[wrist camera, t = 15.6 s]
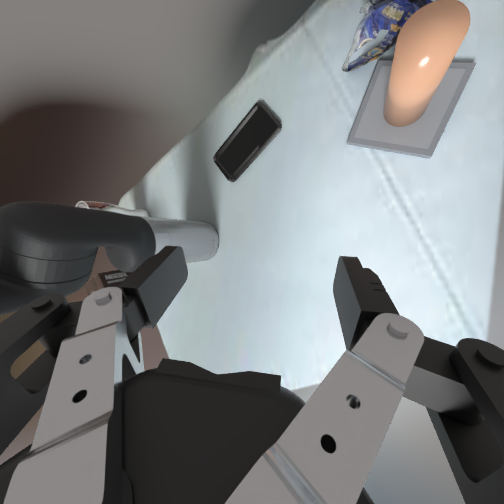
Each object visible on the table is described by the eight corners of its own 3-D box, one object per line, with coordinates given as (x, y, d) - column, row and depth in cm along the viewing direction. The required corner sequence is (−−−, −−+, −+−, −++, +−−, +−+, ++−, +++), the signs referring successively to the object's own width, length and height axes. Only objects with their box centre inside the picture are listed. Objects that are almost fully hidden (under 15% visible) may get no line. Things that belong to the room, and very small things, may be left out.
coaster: (347, 144, 37) (347, 141, 36) (378, 65, 34) (378, 59, 33) (429, 158, 32) (431, 155, 31) (472, 68, 29) (476, 62, 28)
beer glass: (131, 222, 63) (70, 219, 50) (140, 202, 61) (78, 193, 47) (144, 237, 61) (84, 238, 48) (154, 217, 59) (94, 212, 45)
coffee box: (148, 273, 61) (83, 285, 47) (161, 262, 59) (96, 271, 44) (161, 302, 60) (98, 323, 45) (175, 292, 57) (113, 311, 43)
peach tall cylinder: (380, 128, 33) (391, 72, 22) (386, 90, 33) (401, 11, 21) (424, 124, 31) (463, 57, 19) (431, 83, 30) (476, -12, 19)
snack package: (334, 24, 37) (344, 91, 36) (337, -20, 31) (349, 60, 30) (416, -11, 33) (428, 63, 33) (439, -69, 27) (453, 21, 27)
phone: (211, 158, 48) (259, 99, 42) (214, 159, 49) (261, 102, 43) (230, 183, 47) (282, 125, 41) (233, 184, 48) (284, 128, 42)
